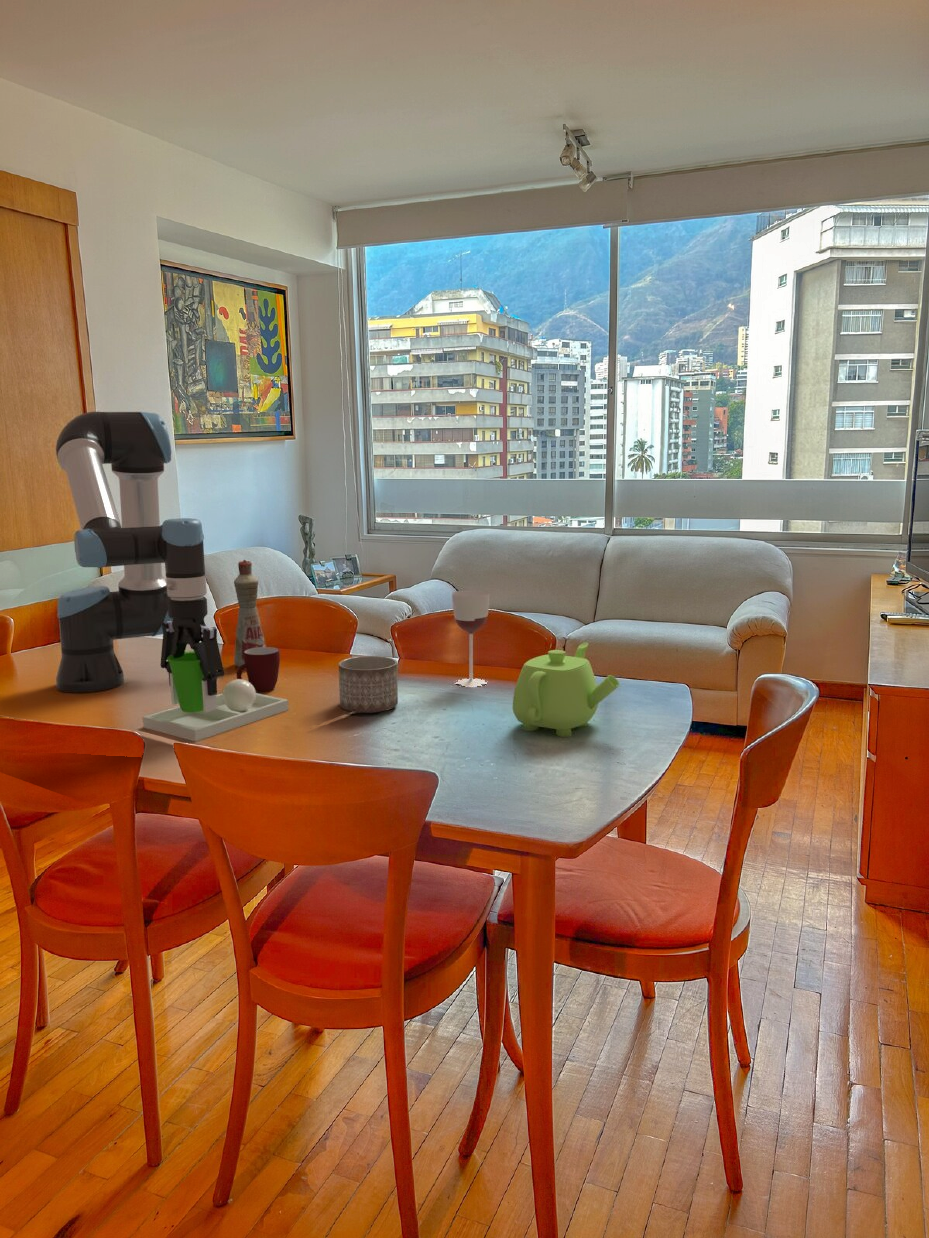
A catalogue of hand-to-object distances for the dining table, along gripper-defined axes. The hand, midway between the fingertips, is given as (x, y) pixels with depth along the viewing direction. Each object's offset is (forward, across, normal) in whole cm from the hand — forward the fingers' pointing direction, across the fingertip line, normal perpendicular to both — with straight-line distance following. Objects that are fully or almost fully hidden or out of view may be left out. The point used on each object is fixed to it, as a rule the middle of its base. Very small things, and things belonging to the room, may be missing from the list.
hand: (194, 706), depth 182 cm
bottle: (+5, -31, +44) cm, 54 cm away
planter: (+5, +20, +31) cm, 37 cm away
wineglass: (+5, +27, +61) cm, 67 cm away
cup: (+1, 0, 0) cm, 1 cm away
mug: (+5, -9, +26) cm, 28 cm away
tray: (+5, 0, +6) cm, 8 cm away
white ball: (+4, 0, +12) cm, 13 cm away
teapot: (+5, +63, +44) cm, 77 cm away
